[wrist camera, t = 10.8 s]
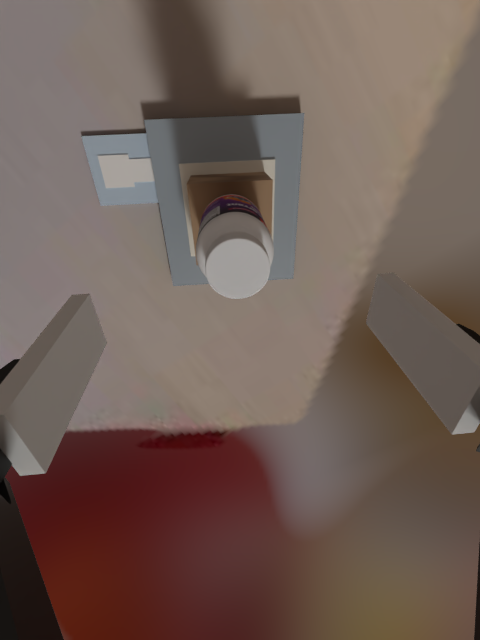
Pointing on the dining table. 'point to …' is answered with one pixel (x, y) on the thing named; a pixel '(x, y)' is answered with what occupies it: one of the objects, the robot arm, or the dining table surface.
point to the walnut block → (216, 185)
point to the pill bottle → (234, 247)
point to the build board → (223, 158)
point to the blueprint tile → (121, 168)
